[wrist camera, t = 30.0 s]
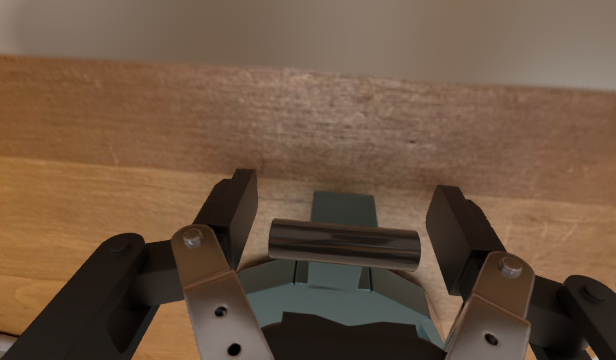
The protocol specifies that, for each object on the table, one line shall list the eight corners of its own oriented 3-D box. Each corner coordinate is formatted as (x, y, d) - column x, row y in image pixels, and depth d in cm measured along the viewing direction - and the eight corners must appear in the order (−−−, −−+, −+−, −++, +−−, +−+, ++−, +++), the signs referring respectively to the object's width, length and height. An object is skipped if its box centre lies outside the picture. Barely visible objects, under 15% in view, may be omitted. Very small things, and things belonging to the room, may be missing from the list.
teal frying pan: (183, 162, 13) (134, 226, 10) (512, 189, 13) (569, 266, 10) (230, 364, 24) (214, 425, 21) (407, 384, 24) (417, 449, 21)
